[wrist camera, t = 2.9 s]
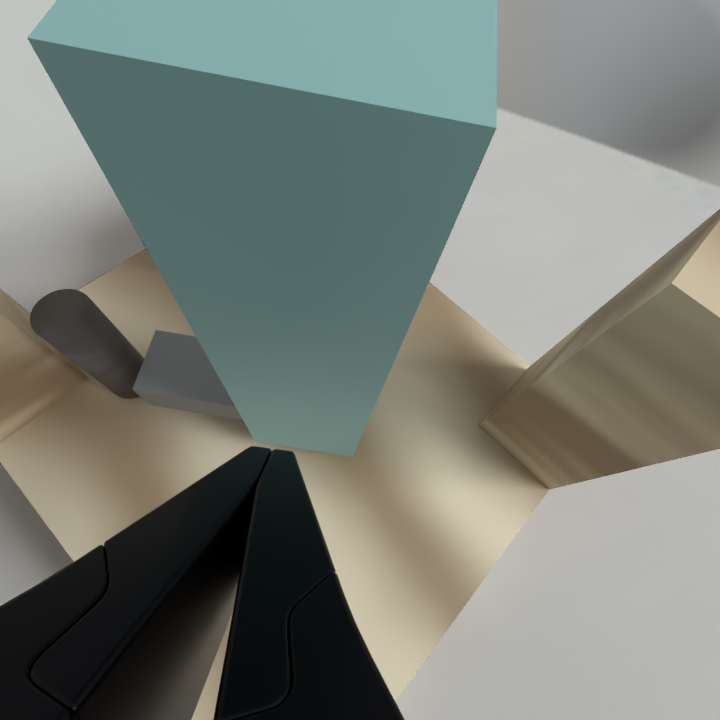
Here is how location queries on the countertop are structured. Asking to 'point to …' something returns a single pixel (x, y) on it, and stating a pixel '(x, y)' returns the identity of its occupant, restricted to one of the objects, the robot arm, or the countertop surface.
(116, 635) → the robot arm
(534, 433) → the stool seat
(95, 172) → the countertop surface
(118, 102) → the folding leg
